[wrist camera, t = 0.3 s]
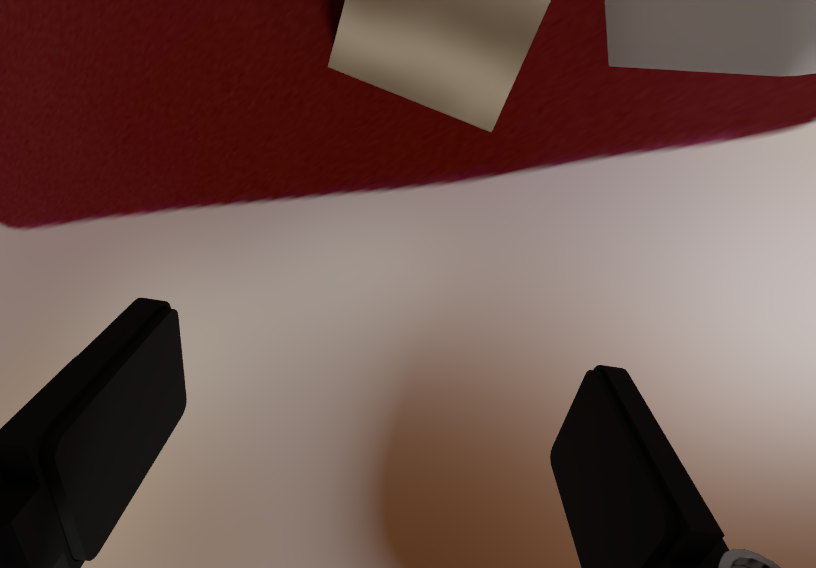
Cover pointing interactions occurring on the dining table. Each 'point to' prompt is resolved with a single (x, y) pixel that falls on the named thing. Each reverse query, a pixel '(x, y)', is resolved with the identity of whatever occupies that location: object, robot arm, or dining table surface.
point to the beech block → (439, 50)
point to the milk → (713, 35)
